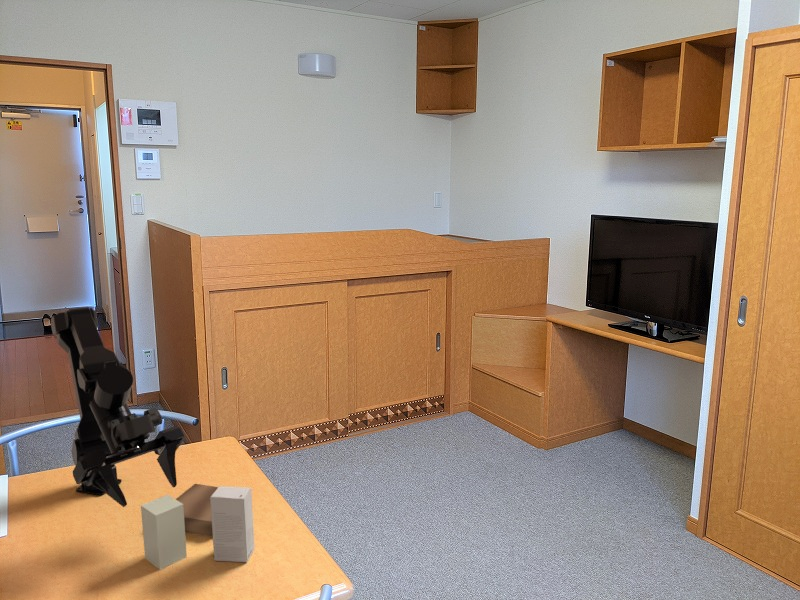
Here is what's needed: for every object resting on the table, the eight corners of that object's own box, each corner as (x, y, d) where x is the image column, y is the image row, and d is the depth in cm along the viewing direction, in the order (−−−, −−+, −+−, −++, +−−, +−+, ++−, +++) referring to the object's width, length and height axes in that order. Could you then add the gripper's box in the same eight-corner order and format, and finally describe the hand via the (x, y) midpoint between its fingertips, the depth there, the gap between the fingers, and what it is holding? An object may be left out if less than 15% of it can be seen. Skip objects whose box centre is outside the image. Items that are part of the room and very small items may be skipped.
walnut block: (159, 529, 124) (158, 512, 123) (196, 499, 135) (195, 483, 134) (216, 539, 120) (215, 522, 120) (248, 507, 132) (248, 491, 131)
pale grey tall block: (145, 558, 114) (140, 505, 112) (171, 546, 118) (167, 494, 116) (160, 569, 111) (155, 515, 109) (186, 556, 114) (183, 504, 112)
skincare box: (255, 549, 117) (252, 486, 114) (247, 563, 113) (244, 499, 110) (222, 547, 117) (218, 485, 115) (213, 561, 113) (209, 497, 111)
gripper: (73, 411, 108) (110, 495, 103) (177, 384, 121) (214, 456, 116) (58, 443, 114) (92, 524, 109) (158, 414, 128) (192, 484, 123)
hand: (150, 495), depth 114 cm, fingers open, 9 cm apart
